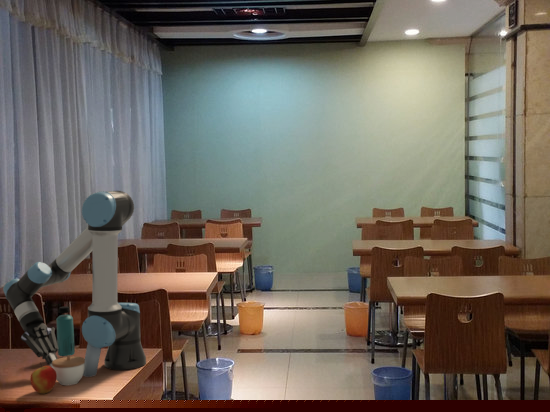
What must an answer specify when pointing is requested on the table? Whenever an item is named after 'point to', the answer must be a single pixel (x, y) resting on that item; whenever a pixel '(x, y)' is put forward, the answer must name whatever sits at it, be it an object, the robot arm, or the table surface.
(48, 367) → the apple
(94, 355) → the post
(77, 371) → the lidded jar
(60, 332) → the beverage bottle
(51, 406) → the table surface
